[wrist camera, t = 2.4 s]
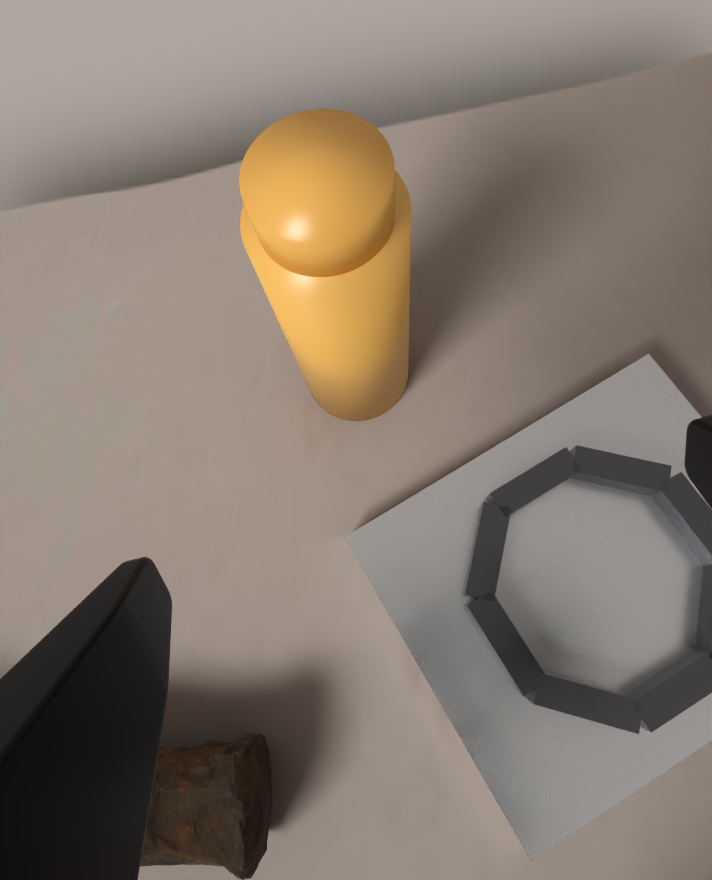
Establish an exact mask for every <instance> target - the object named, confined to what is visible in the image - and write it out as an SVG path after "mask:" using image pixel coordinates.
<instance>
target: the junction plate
mask: <svg viewBox="0 0 712 880" xmlns="http://www.w3.org/2000/svg"><path fill="white" fill-rule="evenodd" d="M698 418H702V417H701V416H700V415H699V413H698V412H697V411H696V410H695V409H694V407H693V406H692V405H691V404H690V403H689V401H688V400H687V399H686V398H685V397H684V395H683V394H682V393H681V392H680V391H679V389H678V388H677V387H676V386H675V385H674V383H673V382H672V381H671V380H670V379H669V377H668V376H667V375H666V374H665V373H664V371H663V370H662V369H661V368H660V367H659V365H658V364H657V363H656V362H655V361H654V359H653V358H652V357H651V356H650V355H649V354H647V355H646V356H644V357H642V358H641V359H639V360H637V361H636V362H634V363H632V364H631V365H629V366H627V367H626V368H624V369H622V370H621V371H619V372H617V373H616V374H614V375H612V376H611V377H609V378H607V379H606V380H604V381H602V382H601V383H599V384H598V385H596V386H594V387H593V388H591V389H589V390H588V391H586V392H584V393H583V394H581V395H579V396H578V397H576V398H574V399H573V400H571V401H569V402H568V403H566V404H564V405H563V406H561V407H559V408H558V409H556V410H554V411H553V412H551V413H549V414H548V415H546V416H544V417H543V418H541V419H540V420H538V421H536V422H535V423H533V424H531V425H530V426H528V427H526V428H525V429H523V430H521V431H520V432H518V433H516V434H515V435H513V436H511V437H510V438H508V439H506V440H505V441H503V442H501V443H500V444H498V445H496V446H495V447H493V448H491V449H490V450H488V451H486V452H485V453H483V454H481V455H480V456H478V457H477V458H475V459H473V460H472V461H470V462H468V463H467V464H465V465H463V466H462V467H460V468H458V469H457V470H455V471H453V472H452V473H450V474H448V475H447V476H445V477H443V478H442V479H440V480H438V481H437V482H435V483H433V484H432V485H430V486H428V487H427V488H425V489H423V490H422V491H420V492H419V493H417V494H415V495H414V496H412V497H410V498H409V499H407V500H405V501H404V502H402V503H400V504H399V505H397V506H395V507H394V508H392V509H390V510H389V511H387V512H385V513H384V514H382V515H380V516H379V517H377V518H375V519H374V520H372V521H370V522H369V523H367V524H365V525H364V526H362V527H361V528H359V529H357V530H356V531H354V532H352V533H351V534H349V535H347V536H346V537H345V539H346V541H347V543H348V544H349V546H350V548H351V550H352V551H353V553H354V555H355V556H356V558H357V560H358V562H359V563H360V565H361V567H362V569H363V570H364V572H365V574H366V575H367V577H368V579H369V581H370V582H371V584H372V586H373V588H374V589H375V591H376V593H377V595H378V596H379V598H380V600H381V601H382V603H383V605H384V607H385V608H386V610H387V612H388V614H389V615H390V617H391V619H392V621H393V622H394V624H395V626H396V627H397V629H398V631H399V633H400V634H401V636H402V638H403V640H404V641H405V643H406V645H407V647H408V648H409V650H410V652H411V653H412V655H413V657H414V659H415V660H416V662H417V664H418V666H419V667H420V669H421V671H422V673H423V674H424V676H425V678H426V679H427V681H428V683H429V685H430V686H431V688H432V690H433V692H434V693H435V695H436V697H437V699H438V700H439V702H440V704H441V705H442V707H443V709H444V711H445V712H446V714H447V716H448V718H449V719H450V721H451V723H452V724H453V726H454V728H455V730H456V731H457V733H458V735H459V737H460V738H461V740H462V742H463V744H464V745H465V747H466V749H467V750H468V752H469V754H470V756H471V757H472V759H473V761H474V763H475V764H476V766H477V768H478V770H479V771H480V773H481V775H482V776H483V778H484V780H485V782H486V783H487V785H488V787H489V789H490V790H491V792H492V794H493V796H494V797H495V799H496V801H497V802H498V804H499V806H500V808H501V809H502V811H503V813H504V815H505V816H506V818H507V820H508V822H509V823H510V825H511V827H512V828H513V830H514V832H515V834H516V835H517V837H518V839H519V841H520V842H521V844H522V846H523V848H524V849H525V851H526V853H527V854H528V856H529V858H530V860H531V861H532V860H534V859H535V858H537V857H538V856H540V855H541V854H543V853H544V852H546V851H547V850H549V849H550V848H552V847H553V846H555V845H556V844H558V843H559V842H561V841H562V840H564V839H565V838H567V837H568V836H570V835H571V834H573V833H574V832H576V831H577V830H579V829H580V828H582V827H583V826H585V825H586V824H588V823H589V822H591V821H592V820H594V819H595V818H597V817H598V816H600V815H601V814H603V813H604V812H606V811H607V810H609V809H610V808H612V807H613V806H615V805H616V804H618V803H619V802H621V801H622V800H624V799H625V798H627V797H628V796H630V795H631V794H633V793H634V792H636V791H637V790H639V789H640V788H642V787H643V786H645V785H646V784H648V783H649V782H651V781H652V780H654V779H655V778H657V777H658V776H660V775H661V774H663V773H664V772H666V771H667V770H669V769H670V768H672V767H673V766H675V765H676V764H678V763H679V762H681V761H682V760H684V759H685V758H687V757H688V756H690V755H691V754H693V753H694V752H696V751H697V750H699V749H700V748H702V747H703V746H705V745H706V744H708V743H709V742H711V741H712V509H711V508H710V506H709V505H708V503H707V502H706V501H705V499H704V498H703V497H702V495H701V494H700V492H699V491H698V490H697V488H696V487H695V486H694V484H693V483H692V481H691V480H690V479H689V477H688V475H687V473H686V470H685V462H684V461H685V447H686V432H687V427H688V424H689V423H690V422H691V421H692V420H694V419H698Z"/></svg>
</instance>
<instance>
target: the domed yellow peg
mask: <svg viewBox="0 0 712 880" xmlns="http://www.w3.org/2000/svg"><path fill="white" fill-rule="evenodd" d="M239 187H240V192H241V196H242V199H243V202H244V203H243V207H242V211H241V218H240V230H241V235H242V240H243V243H244V246H245V249H246V251H247V253H248V255H249V258H250V260H251V262H252V264H253V266H254V269H255V271H256V273H257V275H258V277H259V280H260V282H261V284H262V286H263V288H264V291H265V293H266V295H267V297H268V299H269V302H270V304H271V306H272V308H273V310H274V313H275V315H276V317H277V319H278V321H279V324H280V326H281V328H282V330H283V332H284V335H285V337H286V339H287V341H288V343H289V346H290V348H291V350H292V352H293V354H294V357H295V359H296V361H297V363H298V365H299V368H300V370H301V372H302V374H303V376H304V379H305V381H306V383H307V385H308V387H309V390H310V392H311V394H312V396H313V398H314V399H315V401H316V402H317V403H318V404H319V405H320V407H321V408H323V409H324V410H325V411H326V412H328V413H329V414H331V415H333V416H335V417H338V418H341V419H344V420H350V421H362V420H368V419H372V418H375V417H378V416H380V415H382V414H384V413H385V412H387V411H388V410H390V409H391V408H392V407H393V406H394V405H395V404H396V403H397V402H398V401H399V399H400V398H401V396H402V395H403V393H404V390H405V388H406V385H407V381H408V369H409V313H410V256H411V203H410V198H409V194H408V191H407V188H406V186H405V184H404V182H403V180H402V179H401V177H400V176H399V174H398V173H397V172H396V171H395V170H394V159H393V155H392V151H391V149H390V147H389V144H388V142H387V141H386V139H385V138H384V136H383V135H382V134H381V133H380V132H379V131H378V129H377V128H375V127H374V126H373V125H372V124H371V123H369V122H367V121H366V120H364V119H363V118H360V117H358V116H356V115H354V114H350V113H348V112H344V111H339V110H331V109H316V110H308V111H303V112H299V113H296V114H293V115H290V116H288V117H285V118H283V119H281V120H279V121H277V122H276V123H274V124H273V125H271V126H270V127H268V128H267V129H266V130H264V131H263V132H262V133H261V134H260V135H259V136H258V137H257V138H256V140H255V141H254V142H253V143H252V144H251V146H250V147H249V149H248V151H247V152H246V155H245V157H244V159H243V161H242V165H241V168H240V175H239Z"/></svg>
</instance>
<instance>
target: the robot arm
mask: <svg viewBox="0 0 712 880" xmlns="http://www.w3.org/2000/svg"><path fill="white" fill-rule="evenodd" d="M684 462H685V470H686V473H687V475H688V477H689V479H690V480H691V481H692V483H693V484H694V486H695V487H696V488H697V490H698V491H699V492H700V494H701V495H702V497H703V498H704V499H705V501H706V502H707V503H708V505H709V506H710V508H711V509H712V415H710V416H706V417H702V418H698V419H694V420H692V421H691V422H690V423H689V424H688V427H687V432H686V447H685V461H684ZM171 617H172V601H171V596H170V593H169V591H168V589H167V587H166V585H165V583H164V581H163V579H162V577H161V575H160V574H159V572H158V570H157V568H156V566H155V564H154V563H153V561H152V560H151V559H150V558H147V557H142V558H138V559H134V560H130V561H126V562H124V563H122V564H121V565H120V566H119V567H118V568H116V569H115V570H114V571H113V572H112V573H111V574H110V575H109V576H108V577H107V578H106V579H105V580H104V581H103V582H102V583H101V584H100V585H99V586H98V587H97V588H95V589H94V590H93V591H92V592H91V593H90V594H89V595H88V596H87V597H86V598H85V599H84V600H83V601H82V602H81V603H80V604H79V605H78V606H77V607H76V608H74V609H73V610H72V611H71V612H70V613H69V614H68V615H67V616H66V617H65V618H64V619H63V620H62V621H61V622H60V623H59V624H58V625H57V626H56V627H55V628H53V629H52V630H51V631H50V632H49V633H48V634H47V635H46V636H45V637H44V638H43V639H42V640H41V641H40V642H39V643H38V644H37V645H36V646H35V647H33V648H32V649H31V650H30V651H29V652H28V653H27V654H26V655H25V656H24V657H23V658H22V659H21V660H20V661H19V662H18V663H17V664H16V665H15V666H14V667H12V668H11V669H10V670H9V671H8V672H7V673H6V674H5V675H4V676H3V677H2V678H1V679H0V880H138V874H139V868H140V862H141V855H142V849H143V843H144V837H145V831H146V825H147V818H148V812H149V806H150V800H151V794H152V788H153V781H154V775H155V769H156V763H157V757H158V750H159V744H160V738H161V732H162V726H163V720H164V713H165V707H166V700H167V693H168V681H169V661H170V639H171Z"/></svg>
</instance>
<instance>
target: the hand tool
mask: <svg viewBox="0 0 712 880" xmlns="http://www.w3.org/2000/svg"><path fill="white" fill-rule="evenodd" d="M270 800H271V768H270V760H269V752H268V749H267V745H266V741H265V737H264V736H263V735H261V734H257V735H254V734H246V735H244V736H243V737H241V738H240V739H238V740H237V741H235V742H234V743H232V744H231V745H230V744H227V743H222V742H219V741H216V740H211V741H208V742H207V743H205V744H204V745H202V746H201V747H199V748H195V749H189V748H184V747H182V748H161V747H159V750H158V757H157V763H156V769H155V775H154V781H153V788H152V794H151V800H150V806H149V812H148V818H147V825H146V831H145V837H144V843H143V849H142V855H141V862H140V866H151V865H180V864H187V865H197V864H203V865H214V866H224V867H225V868H226V869H227V870H228V871H229V872H231V873H232V874H234V875H235V876H236V877H237V878H240V879H242V880H244V879H247V878H251V877H252V876H253V874H254V872H255V871H256V869H257V867H258V864H259V862H260V860H261V859H262V857H263V855H264V854H265V852H266V850H267V838H268V830H269V823H270Z"/></svg>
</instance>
